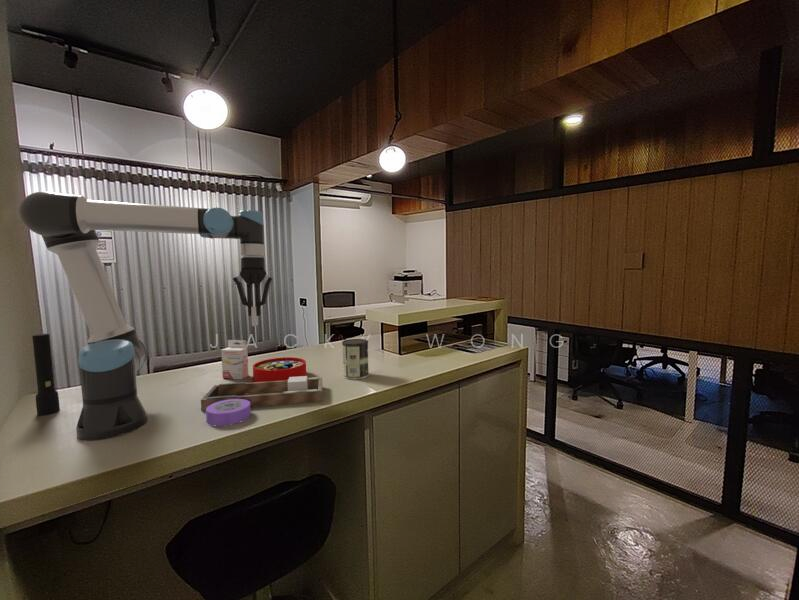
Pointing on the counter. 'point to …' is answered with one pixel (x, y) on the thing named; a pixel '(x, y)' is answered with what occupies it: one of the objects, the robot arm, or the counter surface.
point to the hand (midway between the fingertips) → (255, 325)
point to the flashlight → (44, 376)
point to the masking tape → (228, 412)
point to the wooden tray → (240, 389)
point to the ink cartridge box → (235, 360)
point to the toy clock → (278, 369)
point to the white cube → (297, 383)
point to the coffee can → (355, 359)
